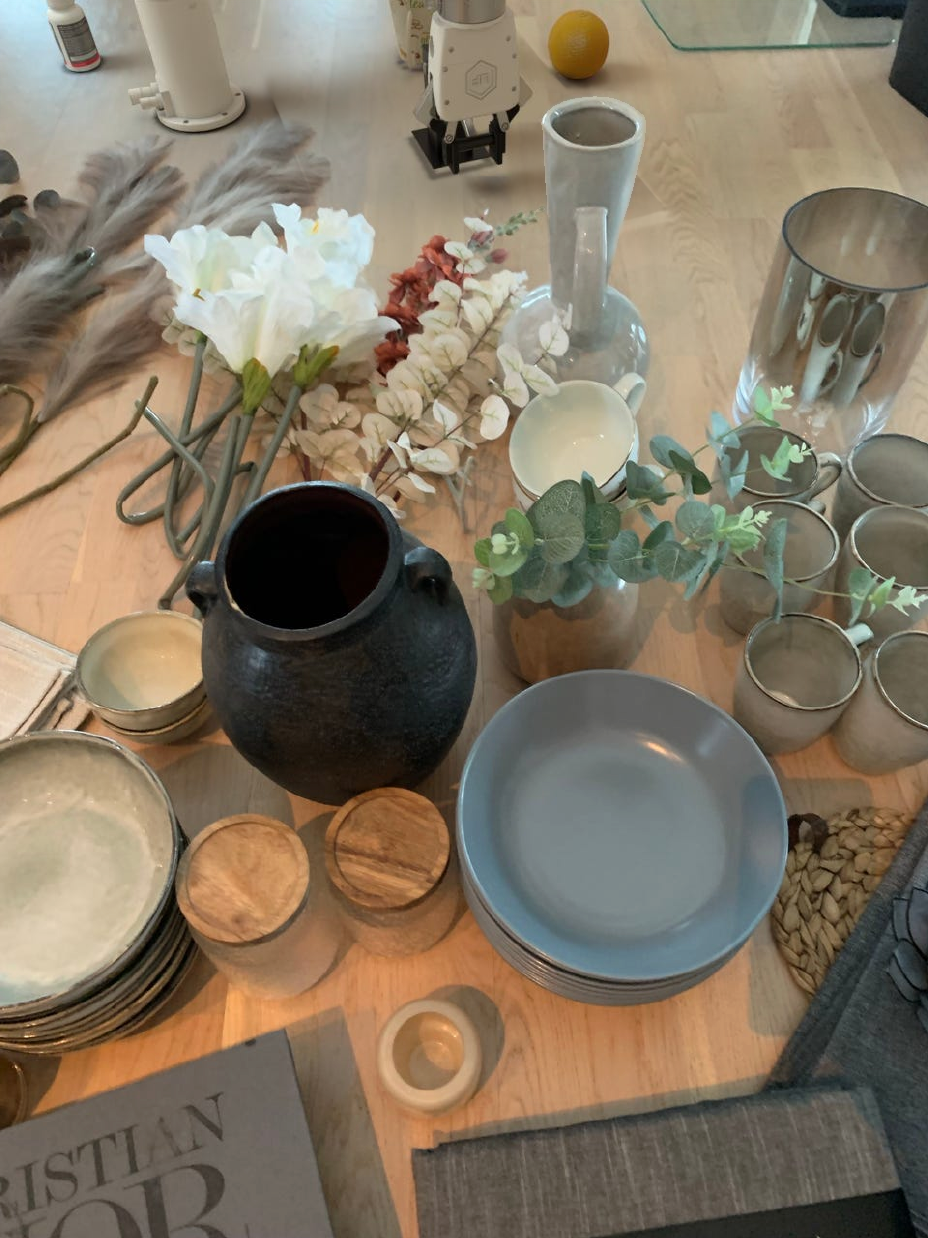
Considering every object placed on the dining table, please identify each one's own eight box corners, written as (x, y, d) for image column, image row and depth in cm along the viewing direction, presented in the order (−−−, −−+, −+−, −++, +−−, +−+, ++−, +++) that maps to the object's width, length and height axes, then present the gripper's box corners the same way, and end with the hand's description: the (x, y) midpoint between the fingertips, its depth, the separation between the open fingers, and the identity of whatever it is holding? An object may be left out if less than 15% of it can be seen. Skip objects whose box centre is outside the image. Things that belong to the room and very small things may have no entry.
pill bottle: (108, 59, 134) (83, -14, 126) (87, 75, 131) (60, 1, 123) (80, 53, 135) (53, -19, 127) (59, 69, 132) (30, -4, 124)
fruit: (595, 57, 130) (600, -4, 123) (613, 82, 126) (620, 21, 119) (539, 66, 129) (542, 5, 122) (556, 92, 125) (560, 30, 118)
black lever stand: (490, 164, 115) (490, 60, 104) (434, 176, 113) (427, 72, 103) (466, 127, 120) (463, 24, 109) (411, 139, 119) (403, 36, 108)
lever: (493, 149, 108) (496, 136, 105) (455, 157, 107) (457, 144, 105) (461, 57, 109) (463, 42, 107) (424, 65, 108) (425, 50, 106)
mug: (450, 48, 133) (448, -28, 124) (441, 89, 126) (438, 11, 118) (397, 47, 133) (391, -29, 125) (385, 87, 127) (378, 10, 118)
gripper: (406, 27, 90) (418, 193, 105) (557, -1, 93) (548, 165, 108) (386, -2, 94) (401, 162, 109) (532, -29, 97) (526, 135, 112)
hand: (474, 162), depth 108 cm, fingers closed on lever, 5 cm apart
